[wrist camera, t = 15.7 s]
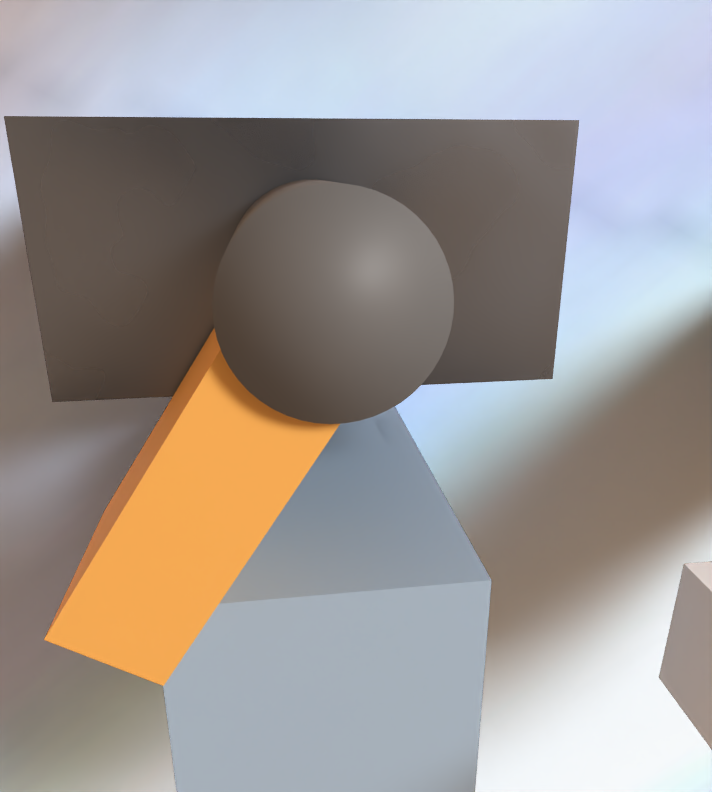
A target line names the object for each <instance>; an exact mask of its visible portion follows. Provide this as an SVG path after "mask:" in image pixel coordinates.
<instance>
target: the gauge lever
mask: <svg viewBox="0 0 712 792" xmlns="http://www.w3.org/2000/svg"><path fill="white" fill-rule="evenodd" d="M212 312H213V324H214V329H213V331H212V332H211V334H210V336H209V337H208V339H207V341H206V342H205V344H204V346H203V347H202V349H201V351H200V352H199V354H198V356H197V357H196V359H195V361H194V362H193V364H192V366H191V367H190V369H189V371H188V372H187V374H186V376H185V377H184V379H183V381H182V382H181V384H180V386H179V387H178V389H177V391H176V392H175V394H174V396H173V397H172V399H171V401H170V402H169V404H168V406H167V407H166V409H165V411H164V412H163V414H162V416H161V417H160V419H159V421H158V422H157V424H156V425H155V427H154V429H153V430H152V432H151V434H150V435H149V437H148V439H147V440H146V442H145V444H144V445H143V447H142V449H141V450H140V452H139V454H138V455H137V457H136V459H135V460H134V462H133V464H132V465H131V467H130V469H129V470H128V472H127V474H126V475H125V477H124V479H123V480H122V482H121V484H120V485H119V487H118V489H117V490H116V492H115V494H114V495H113V497H112V499H111V500H110V502H109V504H108V505H107V507H106V509H105V510H104V513H103V515H102V517H101V519H100V521H99V523H98V525H97V528H96V530H95V532H94V534H93V536H92V538H91V540H90V543H89V545H88V547H87V549H86V551H85V553H84V555H83V557H82V560H81V562H80V564H79V566H78V568H77V570H76V572H75V575H74V577H73V579H72V581H71V583H70V585H69V587H68V589H67V592H66V594H65V596H64V598H63V600H62V602H61V604H60V607H59V609H58V611H57V613H56V615H55V617H54V619H53V622H52V624H51V626H50V628H49V630H48V632H47V634H46V636H45V639H44V640H46V641H48V642H51V643H53V644H56V645H58V646H61V647H64V648H66V649H69V650H71V651H74V652H77V653H79V654H82V655H84V656H87V657H90V658H92V659H95V660H97V661H100V662H103V663H105V664H108V665H110V666H113V667H116V668H118V669H121V670H123V671H126V672H128V673H131V674H134V675H136V676H139V677H141V678H144V679H147V680H149V681H152V682H154V683H157V684H160V685H162V686H164V685H165V683H166V682H167V680H168V679H169V677H170V676H171V674H172V673H173V671H174V670H175V668H176V667H177V665H178V664H179V662H180V661H181V659H182V658H183V656H184V655H185V653H186V652H187V650H188V649H189V647H190V646H191V644H192V643H193V642H194V640H195V639H196V637H197V636H198V634H199V633H200V631H201V630H202V628H203V627H204V625H205V624H206V622H207V621H208V619H209V618H210V616H211V615H212V613H213V612H214V610H215V609H216V607H217V606H218V604H219V603H220V601H221V600H222V599H223V597H224V596H225V594H226V593H227V591H228V590H229V588H230V587H231V585H232V584H233V582H234V581H235V579H236V578H237V576H238V575H239V573H240V572H241V570H242V569H243V567H244V566H245V564H246V563H247V561H248V560H249V558H250V557H251V555H252V554H253V553H254V551H255V550H256V548H257V547H258V545H259V544H260V542H261V541H262V539H263V538H264V536H265V535H266V533H267V532H268V530H269V529H270V527H271V526H272V524H273V523H274V521H275V520H276V518H277V517H278V515H279V514H280V512H281V511H282V509H283V508H284V507H285V505H286V504H287V502H288V501H289V499H290V498H291V496H292V495H293V493H294V492H295V490H296V489H297V487H298V486H299V484H300V483H301V481H302V480H303V478H304V477H305V475H306V474H307V472H308V471H309V469H310V468H311V466H312V465H313V463H314V462H315V461H316V459H317V458H318V456H319V455H320V453H321V452H322V450H323V449H324V447H325V446H326V444H327V443H328V441H329V440H330V438H331V437H332V435H333V434H334V432H335V431H336V429H337V428H338V426H339V425H340V424H342V423H350V422H355V421H361V420H364V419H367V418H370V417H374V416H376V415H378V414H381V413H383V412H385V411H387V410H389V409H391V408H392V407H394V406H396V405H397V404H399V403H401V402H402V401H403V400H405V399H406V398H407V397H408V396H410V395H411V394H412V393H413V392H414V391H415V390H416V389H417V388H418V387H419V386H420V385H421V384H422V383H423V382H424V381H425V380H426V378H427V377H428V376H429V375H430V373H431V372H432V371H433V369H434V368H435V366H436V364H437V363H438V361H439V359H440V357H441V355H442V353H443V351H444V349H445V346H446V344H447V341H448V337H449V334H450V331H451V326H452V320H453V313H454V292H453V283H452V278H451V274H450V269H449V266H448V263H447V261H446V258H445V255H444V253H443V251H442V249H441V247H440V245H439V243H438V241H437V240H436V238H435V237H434V235H433V234H432V233H431V231H430V230H429V228H428V227H427V226H426V225H425V224H424V223H423V222H422V221H421V220H420V218H419V217H418V216H417V215H415V214H414V213H413V212H412V211H411V210H409V209H408V208H407V207H406V206H404V205H403V204H401V203H400V202H398V201H396V200H395V199H393V198H391V197H389V196H387V195H385V194H383V193H380V192H378V191H376V190H372V189H369V188H365V187H361V186H357V185H350V184H344V183H338V182H331V181H325V180H317V179H305V180H298V181H292V182H289V183H286V184H282V185H280V186H278V187H276V188H273V189H272V190H270V191H268V192H267V193H265V194H264V195H262V196H261V197H260V198H259V199H258V200H256V201H255V202H254V203H253V204H252V205H251V206H250V208H249V209H248V210H247V211H246V212H245V214H244V215H243V217H242V218H241V220H240V222H239V224H238V226H237V228H236V230H235V232H234V234H233V236H232V238H231V240H230V242H229V244H228V247H227V249H226V251H225V253H224V255H223V257H222V259H221V262H220V265H219V268H218V271H217V274H216V278H215V283H214V289H213V300H212Z"/></svg>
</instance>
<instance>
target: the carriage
mask: <svg viewBox="0 0 712 792" xmlns="http://www.w3.org/2000/svg"><path fill="white" fill-rule="evenodd" d="M491 582H492V580H491V578H490V576H489V575H488V573H487V571H486V569H485V567H484V566H483V564H482V562H481V560H480V558H479V557H478V555H477V553H476V551H475V549H474V548H473V546H472V544H471V542H470V540H469V539H468V537H467V535H466V533H465V531H464V530H463V528H462V526H461V524H460V522H459V521H458V519H457V517H456V515H455V514H454V512H453V510H452V508H451V506H450V505H449V503H448V501H447V499H446V497H445V496H444V494H443V492H442V490H441V488H440V487H439V485H438V483H437V481H436V479H435V478H434V476H433V474H432V472H431V470H430V469H429V467H428V465H427V463H426V461H425V460H424V458H423V456H422V454H421V452H420V451H419V449H418V447H417V445H416V443H415V442H414V440H413V438H412V436H411V435H410V433H409V431H408V429H407V427H406V426H405V424H404V422H403V420H402V418H401V417H400V415H399V413H398V411H397V409H396V408H395V406H394V407H392V408H391V409H389V410H387V411H385V412H383V413H381V414H378V415H376V416H374V417H370V418H367V419H364V420H361V421H355V422H350V423H342V424H340V425H339V426H338V428H337V429H336V431H335V432H334V434H333V435H332V437H331V438H330V440H329V441H328V443H327V444H326V446H325V447H324V449H323V450H322V452H321V453H320V455H319V456H318V458H317V459H316V461H315V462H314V463H313V465H312V466H311V468H310V469H309V471H308V472H307V474H306V475H305V477H304V478H303V480H302V481H301V483H300V484H299V486H298V487H297V489H296V490H295V492H294V493H293V495H292V496H291V498H290V499H289V501H288V502H287V504H286V505H285V507H284V508H283V509H282V511H281V512H280V514H279V515H278V517H277V518H276V520H275V521H274V523H273V524H272V526H271V527H270V529H269V530H268V532H267V533H266V535H265V536H264V538H263V539H262V541H261V542H260V544H259V545H258V547H257V548H256V550H255V551H254V553H253V554H252V555H251V557H250V558H249V560H248V561H247V563H246V564H245V566H244V567H243V569H242V570H241V572H240V573H239V575H238V576H237V578H236V579H235V581H234V582H233V584H232V585H231V587H230V588H229V590H228V591H227V593H226V594H225V596H224V597H223V599H222V600H221V601H220V603H219V604H218V606H217V607H216V609H215V610H214V612H213V613H212V615H211V616H210V618H209V619H208V621H207V622H206V624H205V625H204V627H203V628H202V630H201V631H200V633H199V634H198V636H197V637H196V639H195V640H194V642H193V643H192V644H191V646H190V647H189V649H188V650H187V652H186V653H185V655H184V656H183V658H182V659H181V661H180V662H179V664H178V665H177V667H176V668H175V670H174V671H173V673H172V674H171V676H170V677H169V679H168V680H167V682H166V683H165V685H164V686H163V689H164V697H165V705H166V713H167V720H168V728H169V736H170V744H171V751H172V759H173V767H174V774H175V782H176V790H177V792H475V784H476V771H477V759H478V746H479V733H480V721H481V708H482V695H483V683H484V670H485V658H486V645H487V632H488V620H489V607H490V594H491Z"/></svg>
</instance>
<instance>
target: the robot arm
mask: <svg viewBox="0 0 712 792" xmlns="http://www.w3.org/2000/svg"><path fill="white" fill-rule="evenodd" d="M659 678H660V680H661V681H662V683H663V684H664V685H665V687H666V688H667V689H668V691H669V692H670V693H671V695H672V696H673V698H674V699H675V700H676V702H677V703H678V704H679V706H680V707H681V708H682V710H683V711H684V712H685V714H686V715H687V717H688V718H689V719H690V721H691V722H692V723H693V725H694V726H695V727H696V729H697V730H698V732H699V733H700V734H701V736H702V737H703V738H704V740H705V741H706V742H707V744H708V745H709V747H710V748H711V749H712V561H711V562H698V563H685V564H684V565H683V570H682V575H681V579H680V584H679V588H678V593H677V597H676V602H675V606H674V611H673V615H672V620H671V625H670V629H669V634H668V638H667V643H666V647H665V652H664V656H663V661H662V665H661V670H660V674H659Z"/></svg>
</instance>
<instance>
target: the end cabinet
mask: <svg viewBox="0 0 712 792" xmlns="http://www.w3.org/2000/svg"><path fill="white" fill-rule="evenodd" d="M4 120H5V125H6V131H7V137H8V143H9V149H10V155H11V161H12V167H13V172H14V178H15V184H16V190H17V196H18V202H19V208H20V214H21V220H22V225H23V231H24V237H25V243H26V249H27V255H28V261H29V267H30V273H31V278H32V284H33V290H34V296H35V302H36V308H37V314H38V320H39V325H40V331H41V337H42V343H43V349H44V355H45V361H46V367H47V373H48V378H49V384H50V390H51V396H52V402H61V401H82V400H104V399H125V398H147V397H169V396H174V394H175V392H176V391H177V389H178V387H179V386H180V384H181V382H182V381H183V379H184V377H185V376H186V374H187V372H188V371H189V369H190V367H191V366H192V364H193V362H194V361H195V359H196V357H197V356H198V354H199V352H200V351H201V349H202V347H203V346H204V344H205V342H206V341H207V339H208V337H209V336H210V334H211V332H212V331H213V329H214V324H213V312H212V300H213V289H214V283H215V278H216V274H217V271H218V268H219V265H220V262H221V259H222V257H223V255H224V253H225V251H226V249H227V247H228V244H229V242H230V240H231V238H232V236H233V234H234V232H235V230H236V228H237V226H238V224H239V222H240V220H241V218H242V217H243V215H244V214H245V212H246V211H247V210H248V209H249V208H250V206H251V205H252V204H253V203H254V202H255V201H256V200H258V199H259V198H260V197H261V196H262V195H264V194H265V193H267V192H268V191H270V190H272V189H273V188H276V187H278V186H280V185H282V184H286V183H289V182H292V181H298V180H305V179H317V180H325V181H331V182H338V183H344V184H350V185H357V186H361V187H365V188H369V189H372V190H376V191H378V192H380V193H383V194H385V195H387V196H389V197H391V198H393V199H395V200H396V201H398V202H400V203H401V204H403V205H404V206H406V207H407V208H408V209H409V210H411V211H412V212H413V213H414V214H415V215H417V216H418V217H419V218H420V220H421V221H422V222H423V223H424V224H425V225H426V226H427V227H428V228H429V230H430V231H431V233H432V234H433V235H434V237H435V238H436V240H437V241H438V243H439V245H440V247H441V249H442V251H443V253H444V255H445V258H446V261H447V263H448V266H449V269H450V274H451V278H452V283H453V292H454V313H453V320H452V326H451V331H450V334H449V337H448V341H447V344H446V346H445V349H444V351H443V353H442V355H441V357H440V359H439V361H438V363H437V364H436V366H435V368H434V369H433V371H432V372H431V373H430V375H429V376H428V377H427V378H426V380H425V381H424V382H423V383H422V384H421V385H428V384H450V383H472V382H493V381H515V380H537V379H552V378H553V368H554V358H555V349H556V339H557V329H558V320H559V310H560V300H561V291H562V281H563V271H564V262H565V252H566V242H567V233H568V223H569V213H570V204H571V194H572V185H573V175H574V165H575V156H576V146H577V136H578V127H579V120H452V119H311V118H171V117H30V116H4Z"/></svg>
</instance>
